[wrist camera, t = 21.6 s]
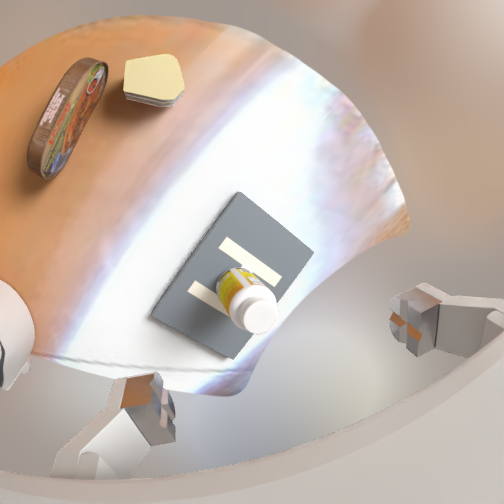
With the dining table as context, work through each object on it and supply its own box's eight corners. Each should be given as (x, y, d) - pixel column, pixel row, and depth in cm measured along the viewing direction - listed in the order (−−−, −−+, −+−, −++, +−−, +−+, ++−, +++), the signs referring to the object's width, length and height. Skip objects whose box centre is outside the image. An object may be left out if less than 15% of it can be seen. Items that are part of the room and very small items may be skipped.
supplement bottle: (218, 308, 41) (238, 346, 31) (212, 270, 39) (232, 300, 30) (257, 300, 42) (286, 333, 33) (253, 262, 41) (283, 288, 31)
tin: (59, 180, 32) (36, 181, 24) (41, 172, 30) (14, 171, 23) (114, 76, 30) (105, 52, 23) (95, 68, 29) (82, 43, 21)
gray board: (230, 354, 45) (233, 359, 43) (152, 311, 39) (152, 316, 38) (309, 250, 45) (314, 252, 43) (237, 191, 39) (241, 192, 38)
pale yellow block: (114, 124, 32) (108, 116, 27) (119, 62, 30) (114, 46, 25) (191, 121, 35) (197, 111, 30) (193, 59, 33) (199, 43, 28)
